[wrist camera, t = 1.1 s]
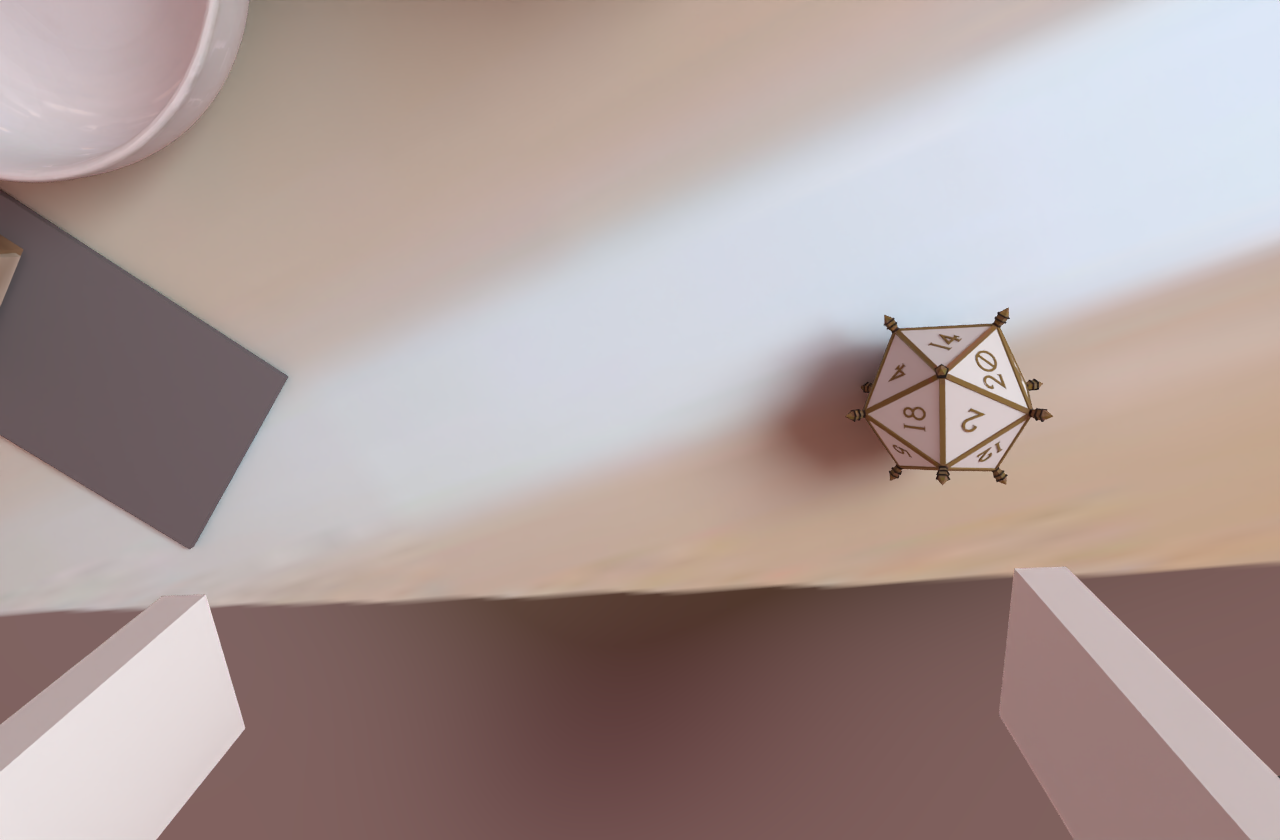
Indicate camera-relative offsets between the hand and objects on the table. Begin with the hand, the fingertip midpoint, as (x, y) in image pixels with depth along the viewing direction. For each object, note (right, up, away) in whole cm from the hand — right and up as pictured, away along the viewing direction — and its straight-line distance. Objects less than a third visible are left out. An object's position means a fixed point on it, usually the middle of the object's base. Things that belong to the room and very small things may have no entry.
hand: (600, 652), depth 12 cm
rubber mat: (-31, +7, +29) cm, 43 cm away
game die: (+16, +6, +26) cm, 31 cm away
